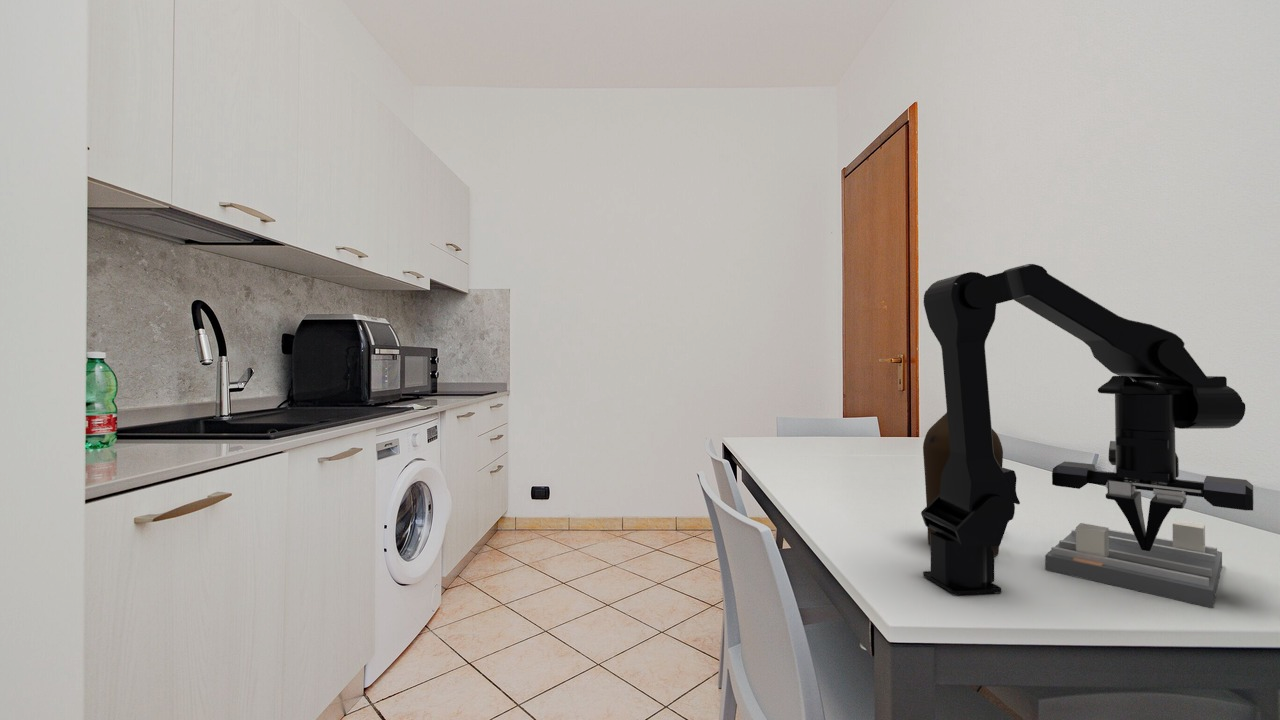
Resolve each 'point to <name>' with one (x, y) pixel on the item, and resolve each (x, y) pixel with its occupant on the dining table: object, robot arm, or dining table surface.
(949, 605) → the dining table surface
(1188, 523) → the tab far
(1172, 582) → the switch panel
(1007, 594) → the dining table surface
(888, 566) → the dining table surface
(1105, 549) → the tab near
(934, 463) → the olive oil
